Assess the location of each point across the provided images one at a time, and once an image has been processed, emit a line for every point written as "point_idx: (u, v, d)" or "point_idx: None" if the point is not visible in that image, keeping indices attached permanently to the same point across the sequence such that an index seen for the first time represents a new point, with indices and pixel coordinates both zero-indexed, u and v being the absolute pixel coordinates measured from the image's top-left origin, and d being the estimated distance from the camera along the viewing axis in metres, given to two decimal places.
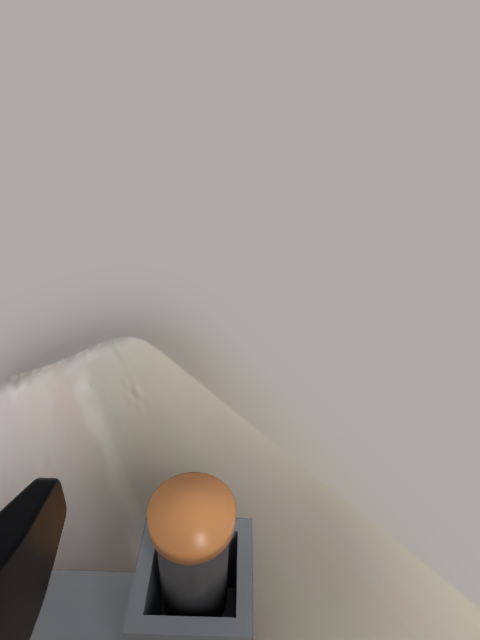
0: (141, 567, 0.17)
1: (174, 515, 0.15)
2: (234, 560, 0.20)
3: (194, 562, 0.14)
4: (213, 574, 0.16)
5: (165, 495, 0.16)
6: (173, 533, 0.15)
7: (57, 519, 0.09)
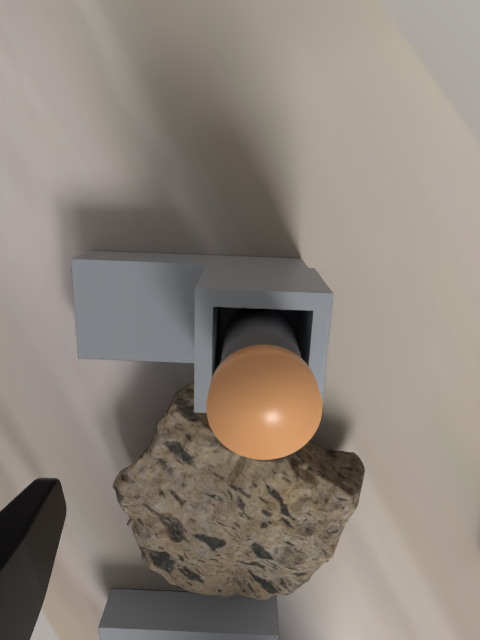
0: (200, 352, 0.15)
1: (242, 418, 0.12)
2: None
3: None
4: None
5: (227, 391, 0.12)
6: (243, 440, 0.12)
7: (57, 519, 0.09)
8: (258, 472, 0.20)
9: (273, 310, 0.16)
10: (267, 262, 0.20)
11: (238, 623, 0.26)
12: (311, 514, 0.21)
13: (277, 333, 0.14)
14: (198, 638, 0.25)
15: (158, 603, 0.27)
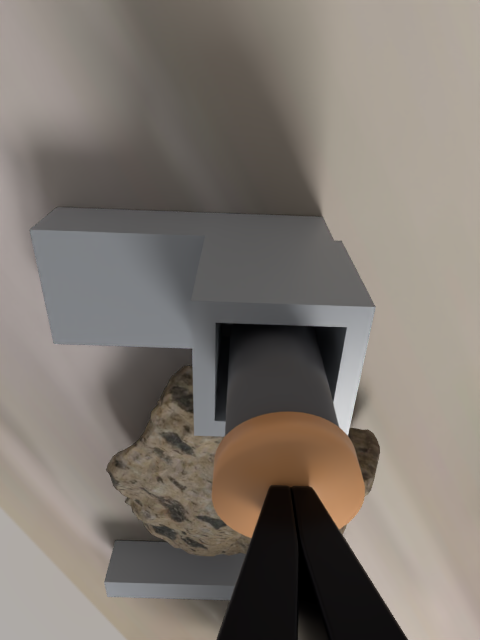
0: (200, 374, 0.12)
1: (259, 505, 0.09)
2: None
3: None
4: None
5: (239, 479, 0.09)
6: None
7: None
8: None
9: None
10: (281, 228, 0.16)
11: None
12: None
13: (302, 368, 0.10)
14: (204, 589, 0.26)
15: (162, 555, 0.27)
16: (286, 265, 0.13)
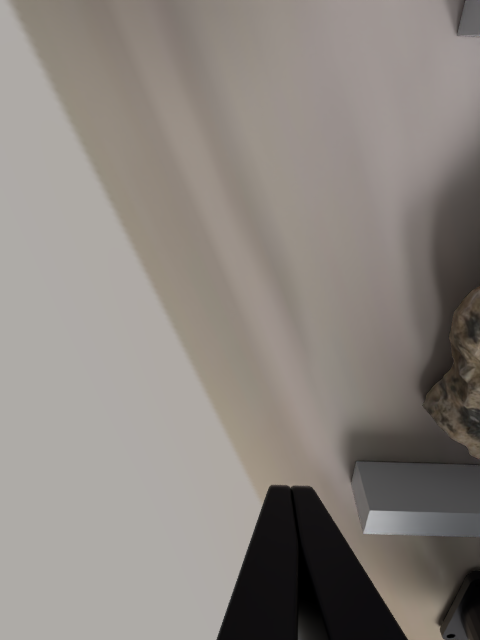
0: None
1: None
2: None
3: None
4: None
5: None
6: None
7: None
8: None
9: None
10: None
11: None
12: None
13: None
14: None
15: (429, 478, 0.19)
16: None
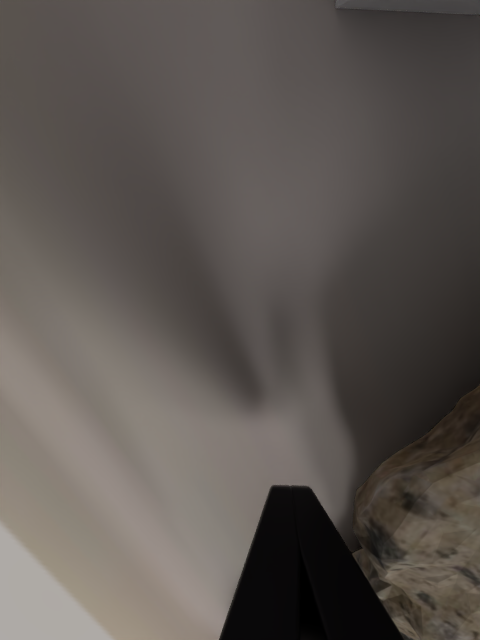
0: None
1: None
2: None
3: None
4: None
5: None
6: None
7: None
8: None
9: None
10: None
11: None
12: None
13: None
14: None
15: None
16: None
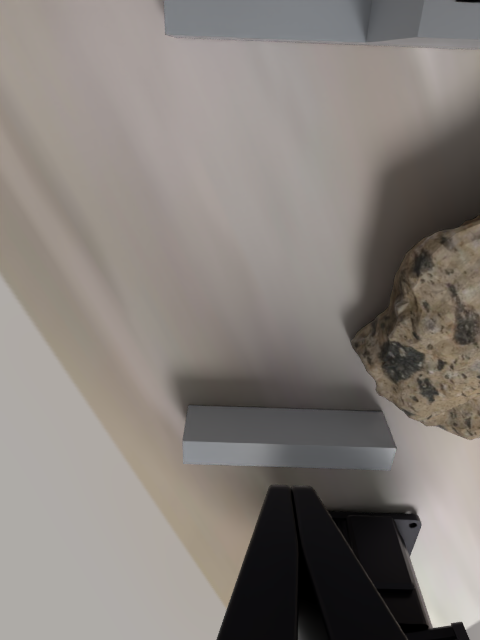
0: None
1: None
2: None
3: None
4: None
5: None
6: None
7: None
8: None
9: None
10: None
11: (346, 436, 0.22)
12: None
13: None
14: (301, 452, 0.21)
15: (246, 418, 0.22)
16: None
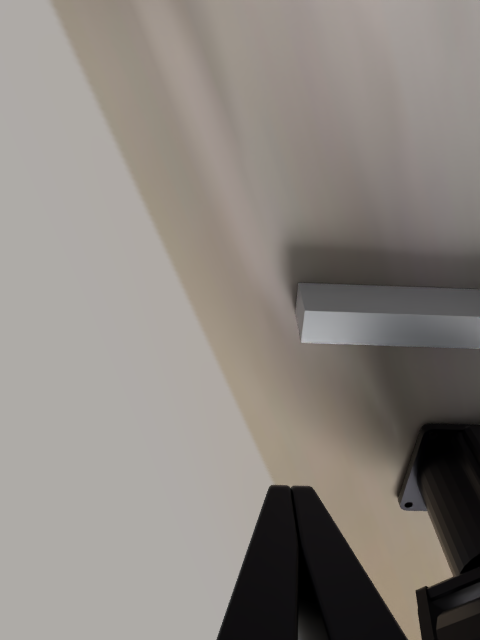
0: None
1: None
2: None
3: None
4: None
5: None
6: None
7: None
8: None
9: None
10: None
11: None
12: None
13: None
14: (444, 326, 0.18)
15: (370, 293, 0.19)
16: None
